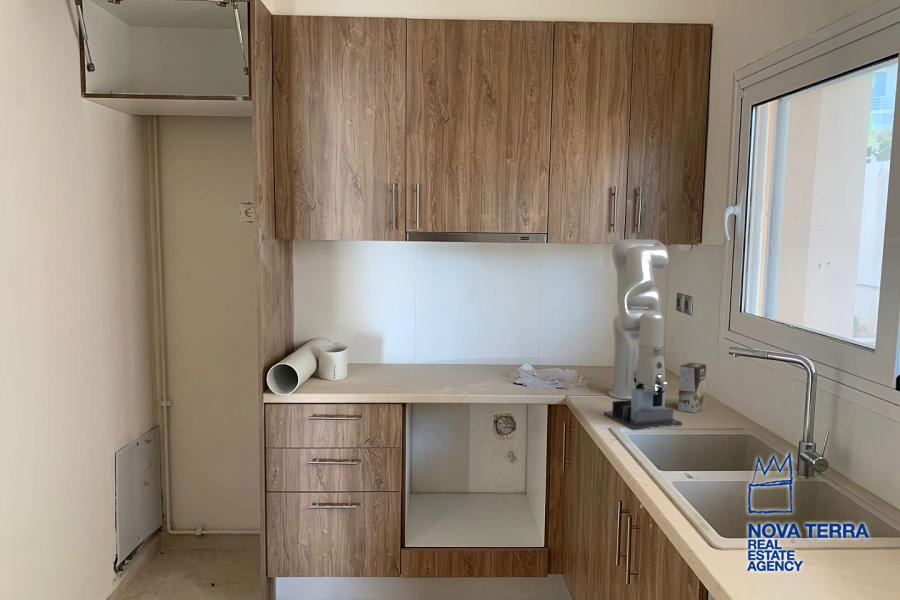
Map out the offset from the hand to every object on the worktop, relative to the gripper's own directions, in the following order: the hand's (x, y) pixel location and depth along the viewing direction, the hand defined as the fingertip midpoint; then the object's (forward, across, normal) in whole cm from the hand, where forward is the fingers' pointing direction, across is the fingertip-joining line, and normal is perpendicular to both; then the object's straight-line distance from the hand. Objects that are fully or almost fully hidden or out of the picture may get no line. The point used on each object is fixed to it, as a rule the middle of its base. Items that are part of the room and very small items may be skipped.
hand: (648, 402), depth 208 cm
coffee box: (+7, +10, -25) cm, 28 cm away
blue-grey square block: (+6, 0, 0) cm, 6 cm away
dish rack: (+7, +3, 0) cm, 8 cm away
